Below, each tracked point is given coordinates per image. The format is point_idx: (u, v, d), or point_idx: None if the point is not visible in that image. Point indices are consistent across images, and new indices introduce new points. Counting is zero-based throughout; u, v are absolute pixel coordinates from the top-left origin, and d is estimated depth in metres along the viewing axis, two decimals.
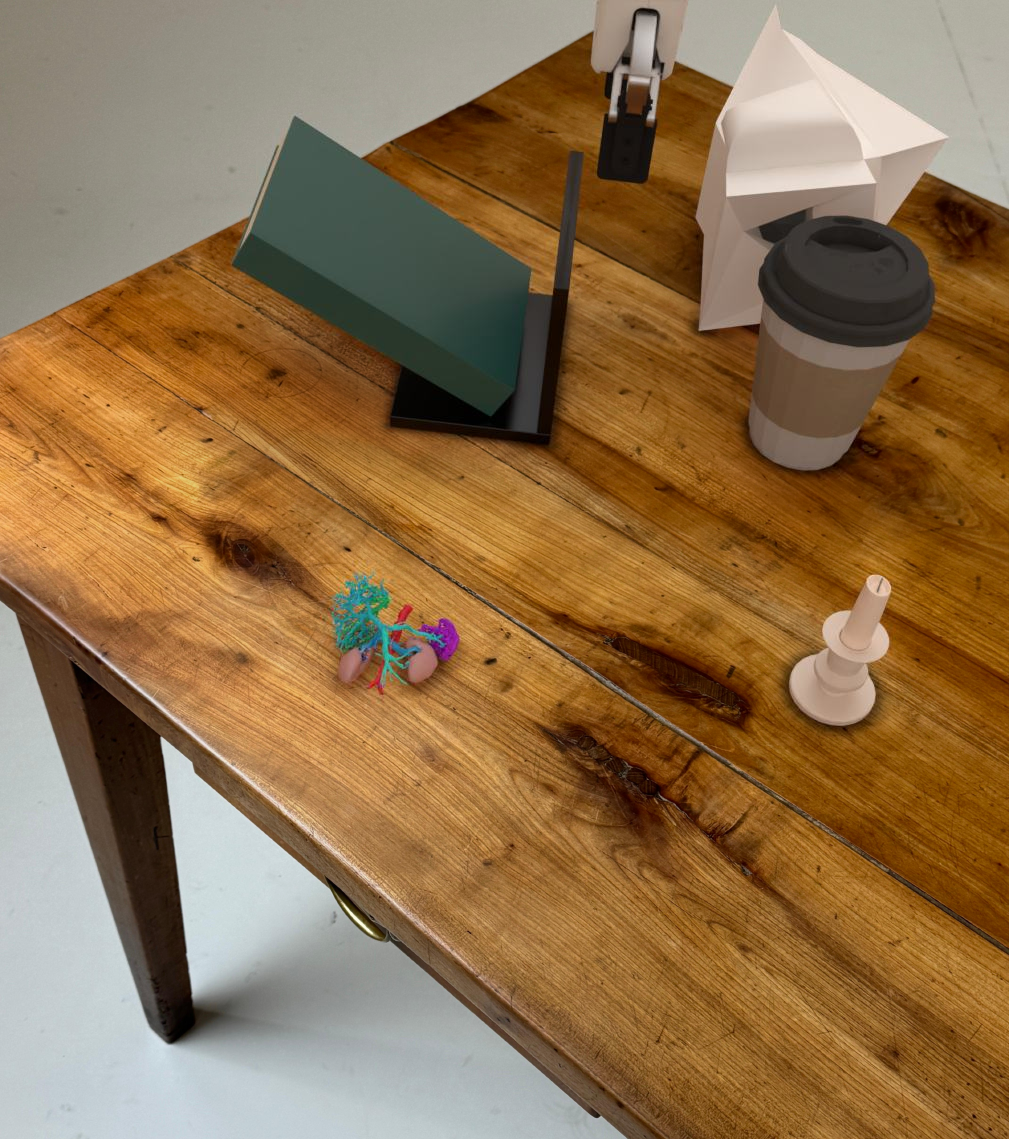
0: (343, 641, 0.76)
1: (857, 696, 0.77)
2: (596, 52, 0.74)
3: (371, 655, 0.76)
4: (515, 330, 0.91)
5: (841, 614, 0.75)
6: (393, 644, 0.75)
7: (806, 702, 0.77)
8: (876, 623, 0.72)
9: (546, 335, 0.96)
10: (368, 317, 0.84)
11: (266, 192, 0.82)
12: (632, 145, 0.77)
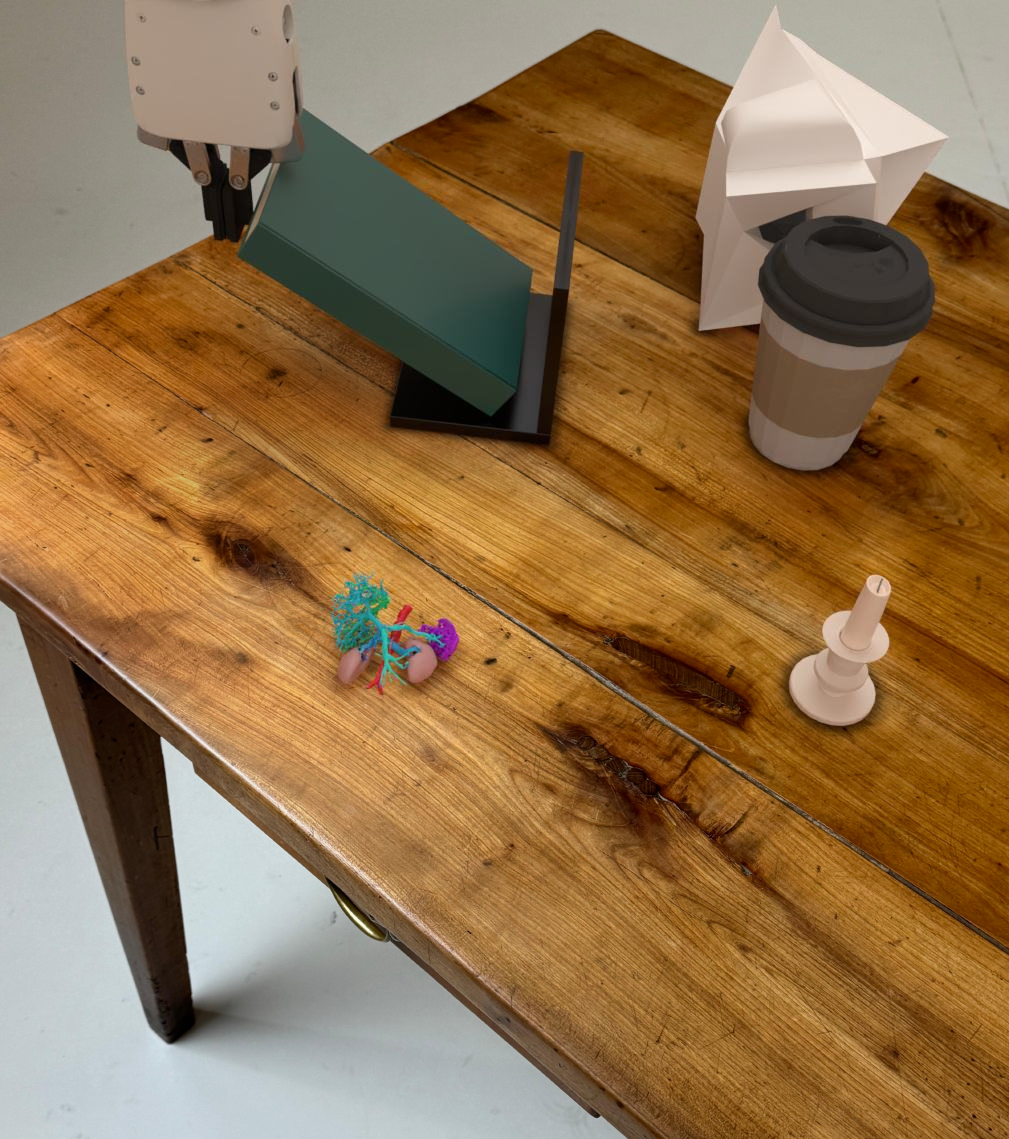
0: (343, 641, 0.76)
1: (857, 696, 0.77)
2: None
3: (371, 655, 0.76)
4: (517, 331, 0.91)
5: (841, 614, 0.75)
6: (393, 644, 0.75)
7: (806, 702, 0.77)
8: (876, 623, 0.72)
9: (546, 335, 0.96)
10: (372, 313, 0.83)
11: (274, 184, 0.82)
12: None
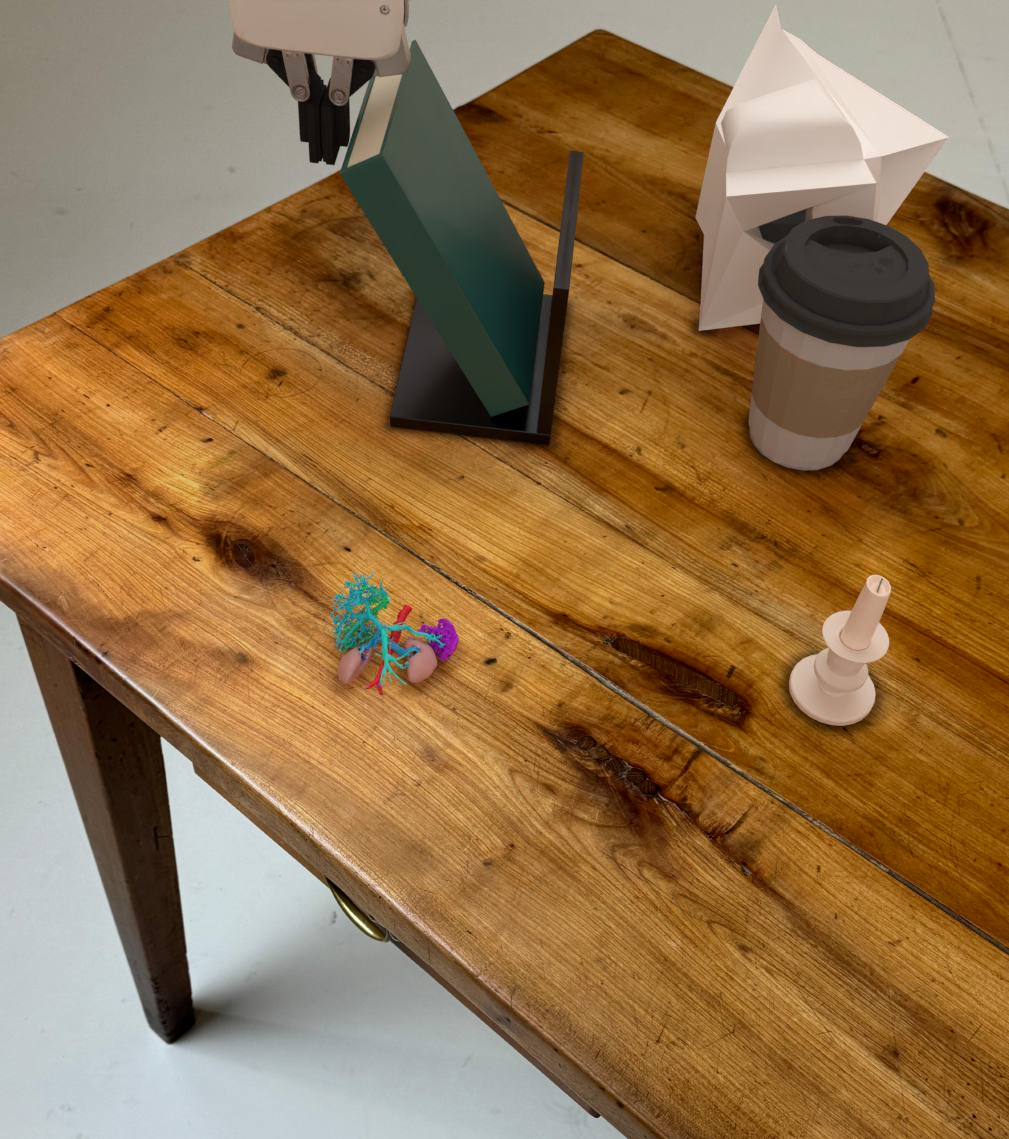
0: (342, 641, 0.76)
1: (857, 696, 0.77)
2: None
3: (370, 655, 0.76)
4: (532, 342, 0.92)
5: (841, 614, 0.75)
6: (392, 644, 0.75)
7: (806, 702, 0.77)
8: (876, 623, 0.72)
9: (546, 335, 0.96)
10: (440, 283, 0.81)
11: (394, 116, 0.77)
12: None
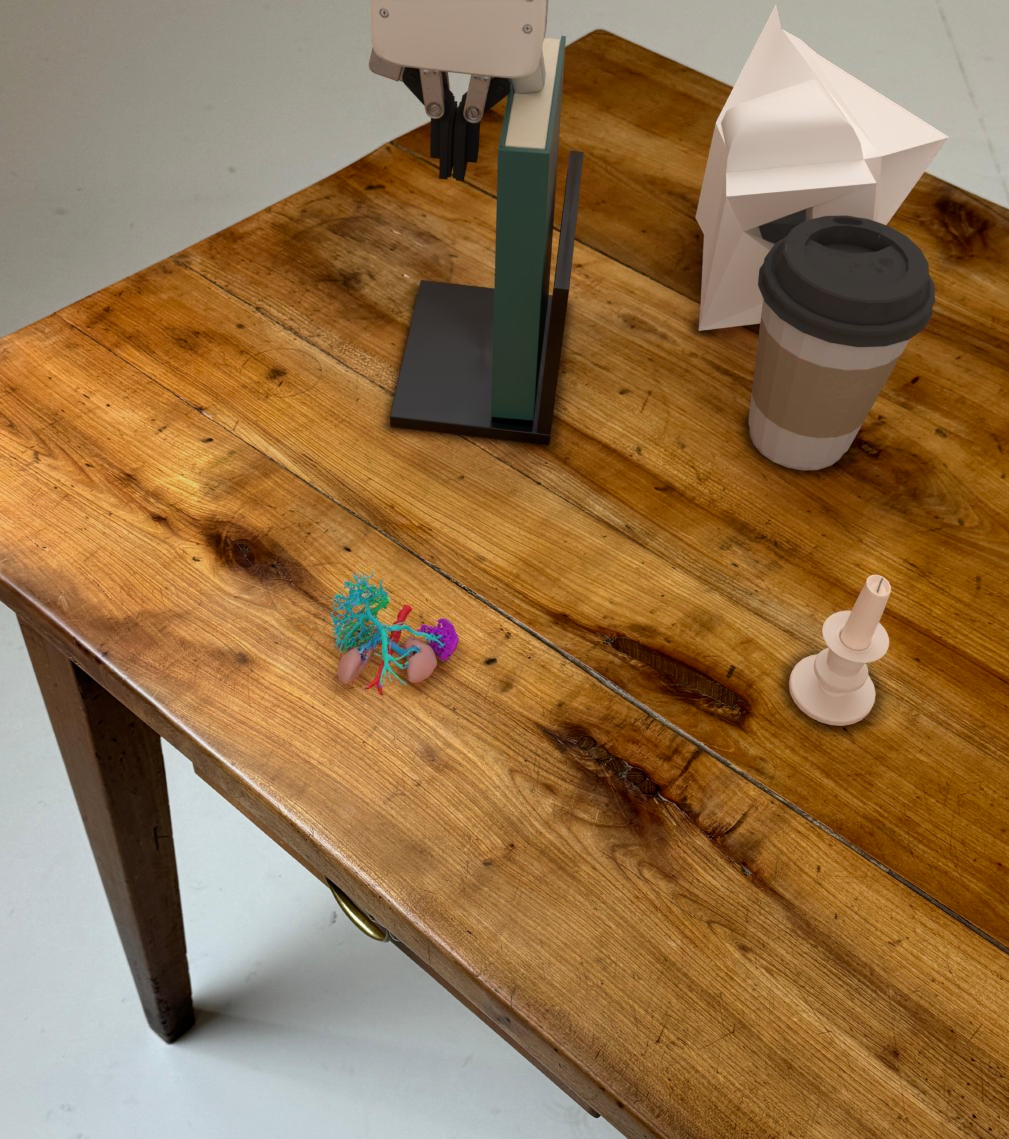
0: (342, 641, 0.75)
1: (857, 696, 0.77)
2: None
3: (370, 655, 0.76)
4: None
5: (841, 614, 0.75)
6: (392, 644, 0.75)
7: (806, 702, 0.77)
8: (876, 623, 0.72)
9: (546, 335, 0.96)
10: (526, 285, 0.81)
11: (555, 113, 0.76)
12: None
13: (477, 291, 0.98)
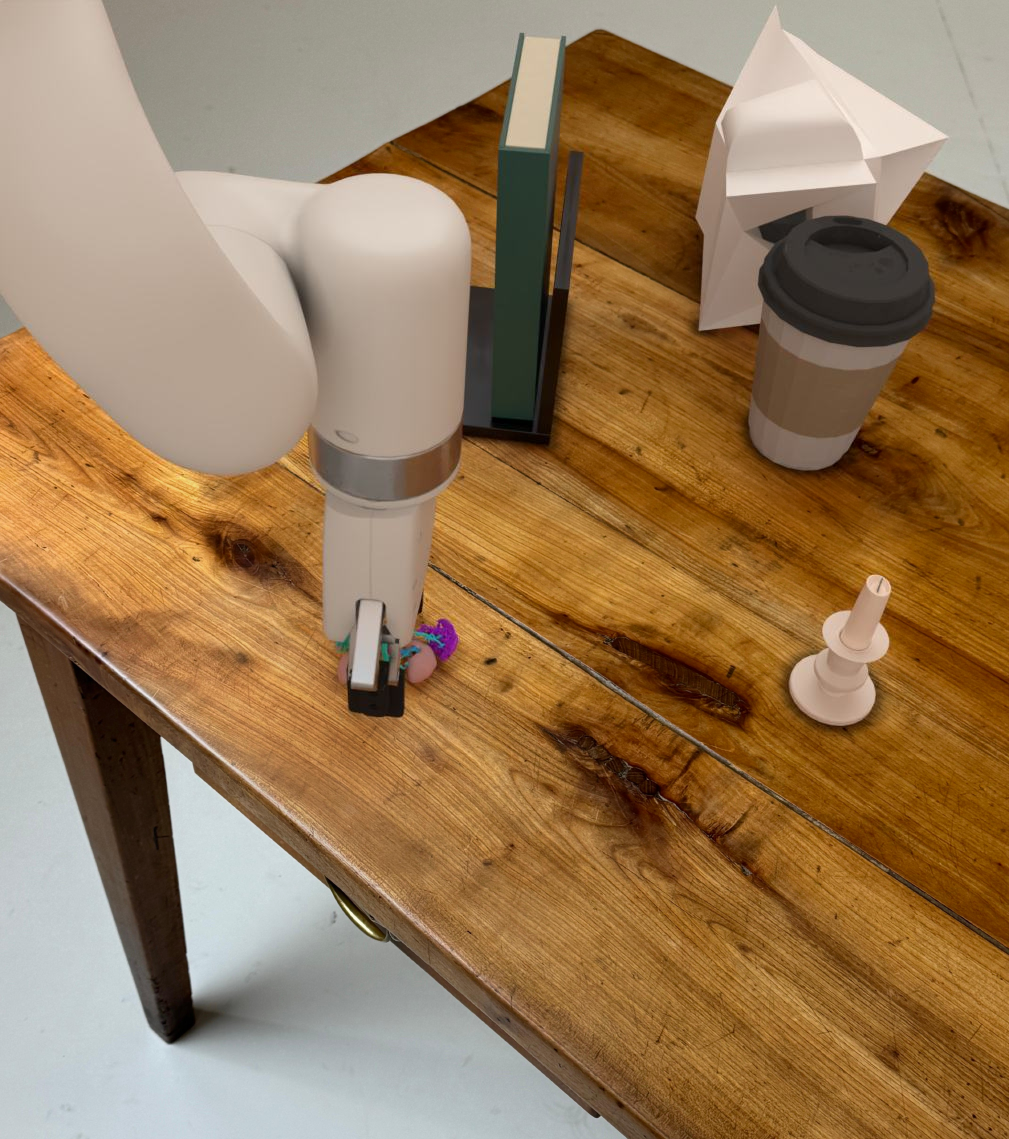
0: (342, 642, 0.75)
1: (857, 696, 0.77)
2: (324, 626, 0.67)
3: None
4: None
5: (841, 614, 0.75)
6: None
7: (806, 702, 0.77)
8: (876, 623, 0.72)
9: (546, 335, 0.96)
10: (526, 285, 0.81)
11: (555, 113, 0.76)
12: (378, 696, 0.71)
13: (477, 291, 0.98)
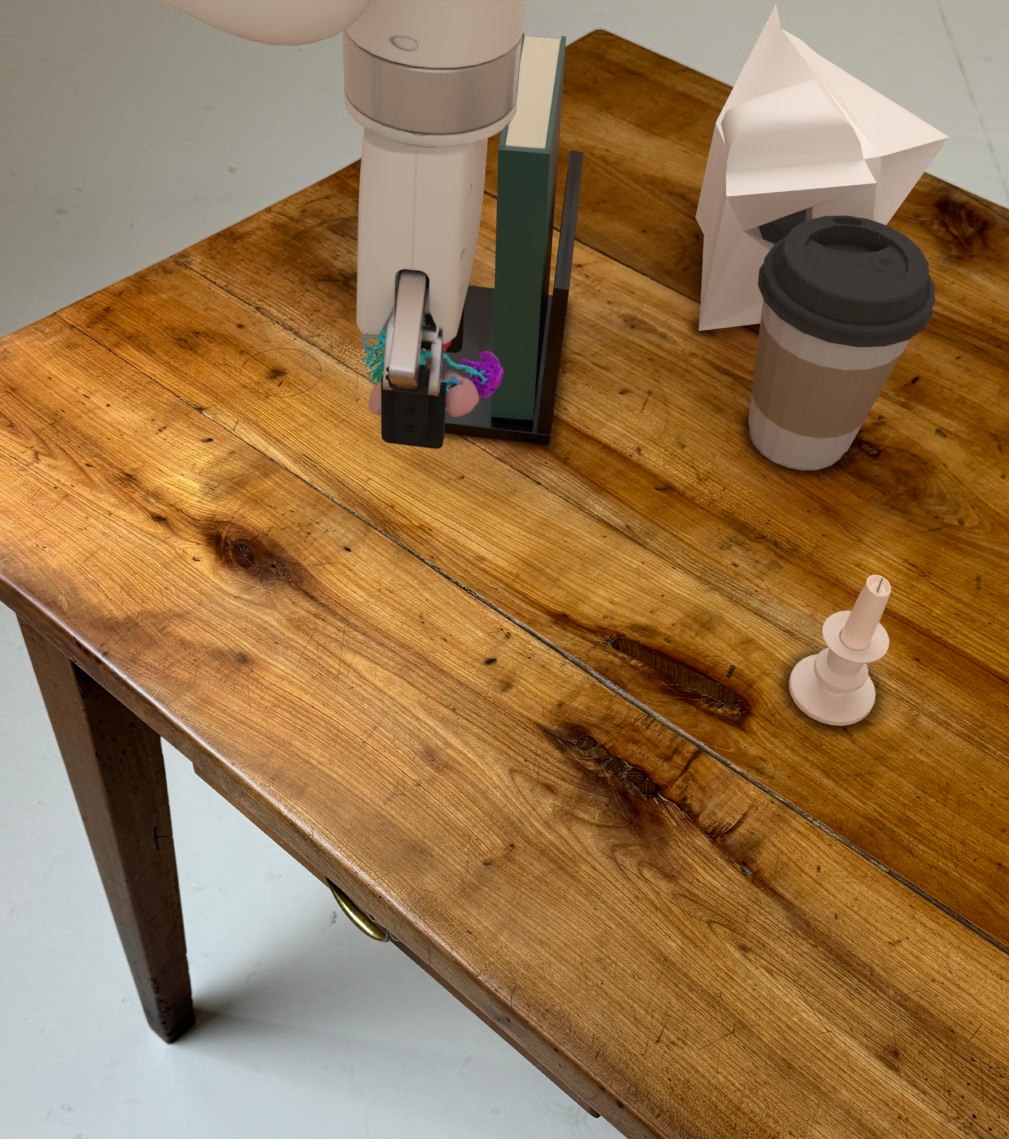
0: (374, 371, 0.68)
1: (857, 696, 0.77)
2: (358, 313, 0.59)
3: None
4: None
5: (841, 614, 0.75)
6: None
7: (806, 702, 0.77)
8: (876, 623, 0.72)
9: (546, 335, 0.96)
10: (526, 285, 0.81)
11: (555, 113, 0.76)
12: (416, 413, 0.63)
13: (477, 291, 0.98)
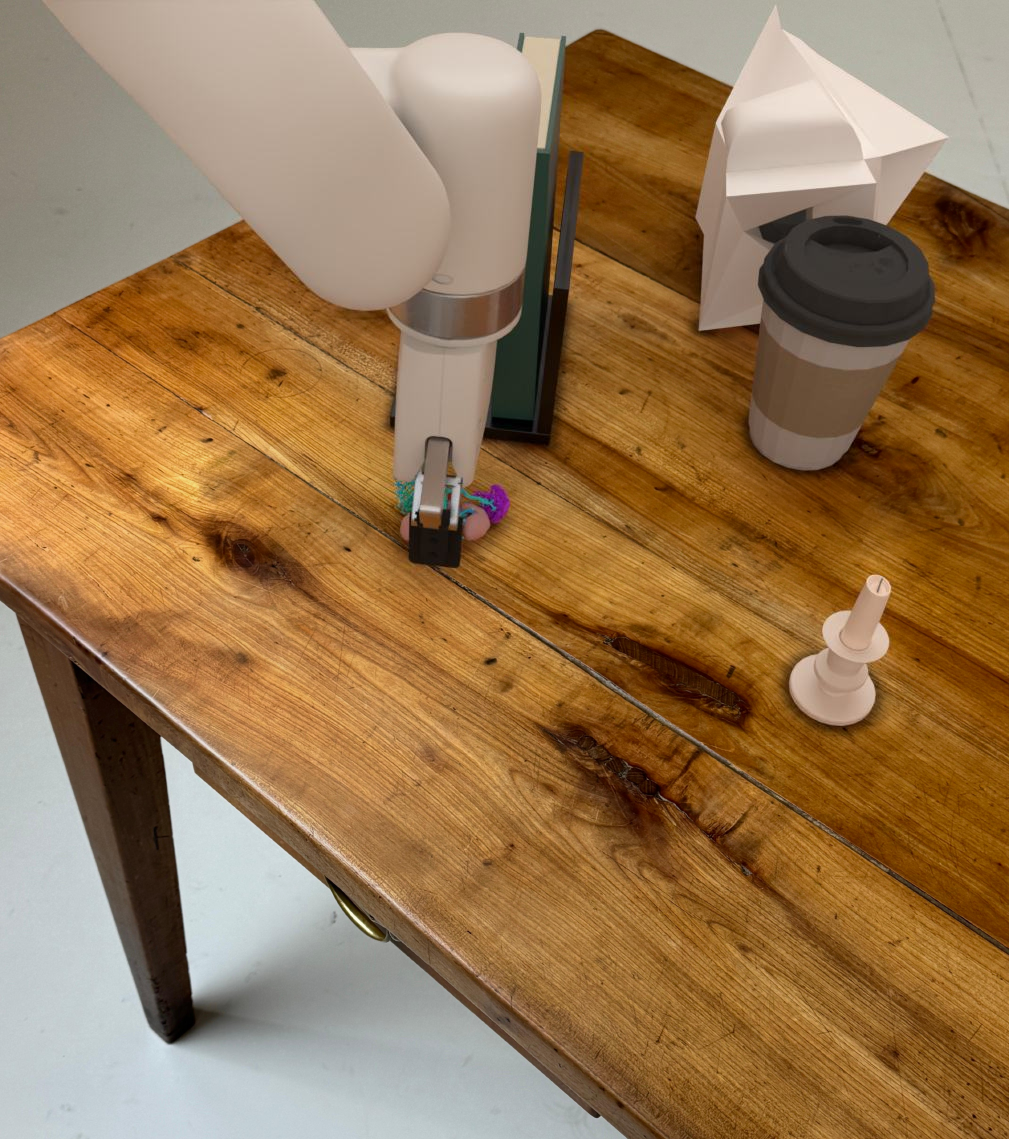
0: (404, 503, 0.83)
1: (857, 696, 0.77)
2: (394, 466, 0.74)
3: None
4: None
5: (841, 614, 0.75)
6: None
7: (806, 702, 0.77)
8: (876, 623, 0.72)
9: (546, 335, 0.96)
10: (526, 285, 0.81)
11: (555, 113, 0.76)
12: (438, 542, 0.77)
13: None
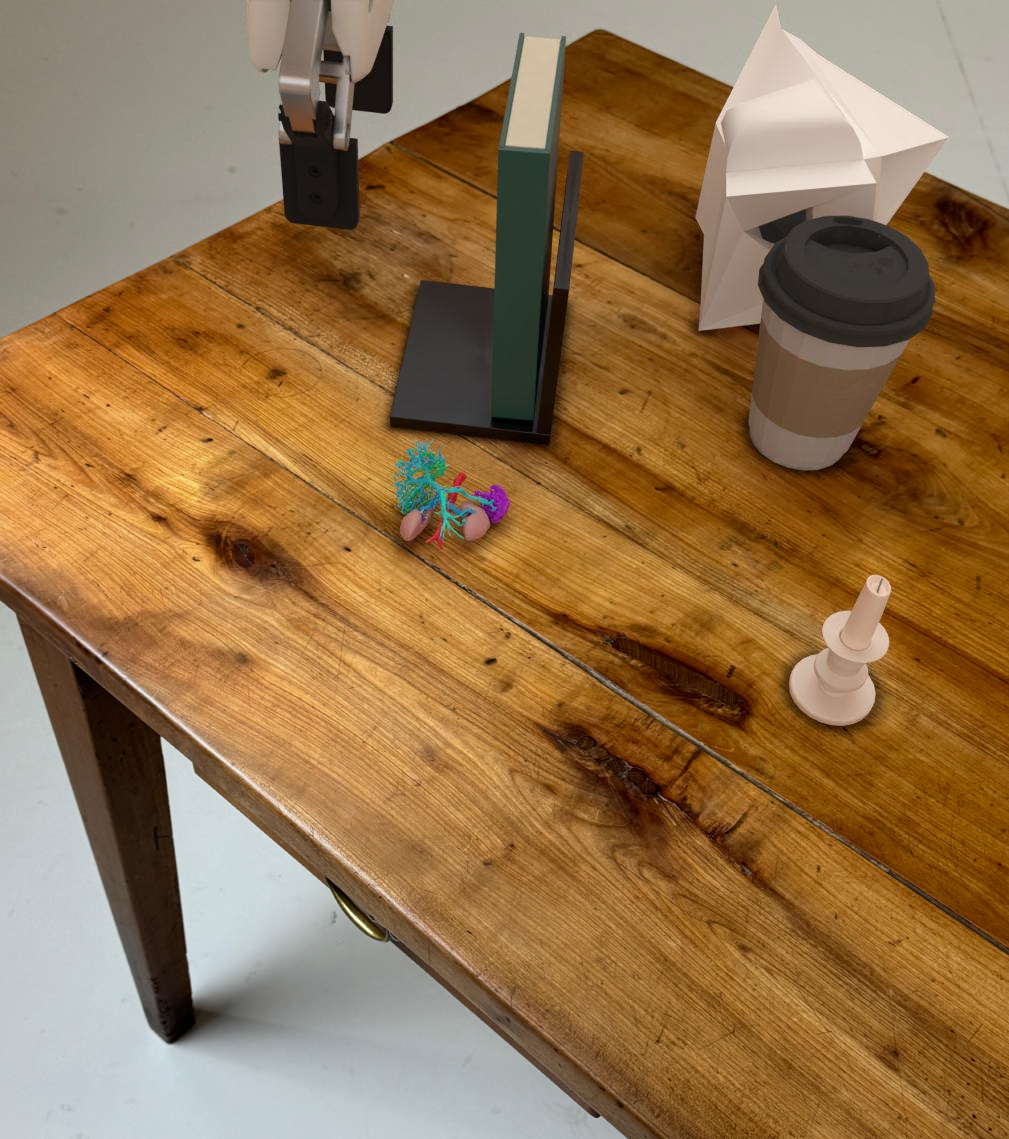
0: (404, 503, 0.83)
1: (857, 696, 0.77)
2: (250, 40, 0.50)
3: (429, 516, 0.83)
4: None
5: (841, 614, 0.75)
6: (450, 505, 0.82)
7: (806, 702, 0.77)
8: (876, 623, 0.72)
9: (546, 335, 0.96)
10: (526, 285, 0.81)
11: (555, 113, 0.76)
12: (322, 176, 0.53)
13: (477, 291, 0.98)
